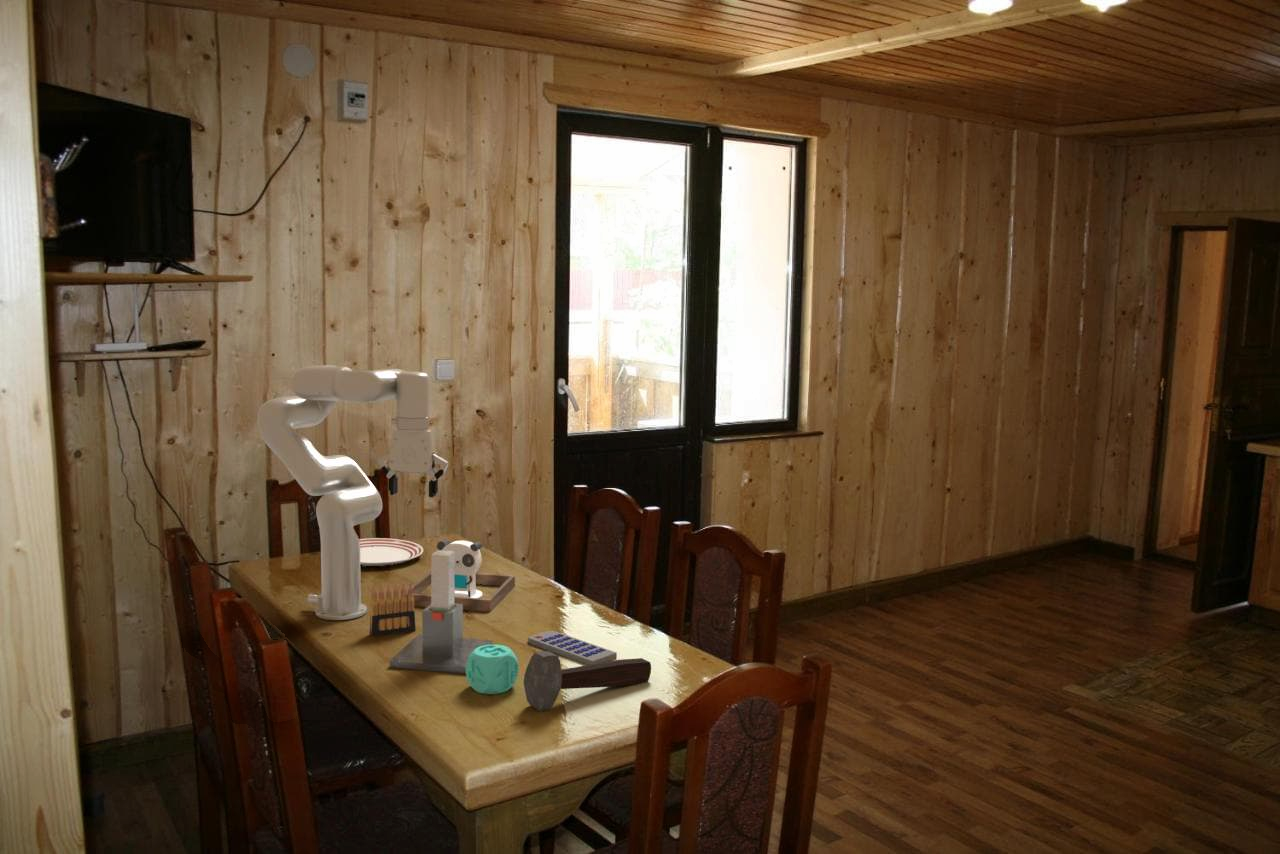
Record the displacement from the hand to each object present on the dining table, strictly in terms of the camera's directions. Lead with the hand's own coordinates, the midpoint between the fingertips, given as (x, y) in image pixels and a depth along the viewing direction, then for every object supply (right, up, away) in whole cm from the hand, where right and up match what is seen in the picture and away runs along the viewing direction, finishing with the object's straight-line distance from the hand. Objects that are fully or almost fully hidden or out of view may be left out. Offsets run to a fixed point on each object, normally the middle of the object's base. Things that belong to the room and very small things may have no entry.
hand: (413, 495), depth 251 cm
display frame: (+6, -29, +34) cm, 45 cm away
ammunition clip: (-5, -33, +2) cm, 34 cm away
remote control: (+38, -36, -6) cm, 53 cm away
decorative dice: (+23, -39, -30) cm, 54 cm away
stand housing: (+10, -36, -13) cm, 39 cm away
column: (+10, -28, -14) cm, 33 cm away
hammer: (+44, -40, -32) cm, 67 cm away
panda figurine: (+5, -29, +34) cm, 45 cm away
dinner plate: (-26, -24, +68) cm, 77 cm away
